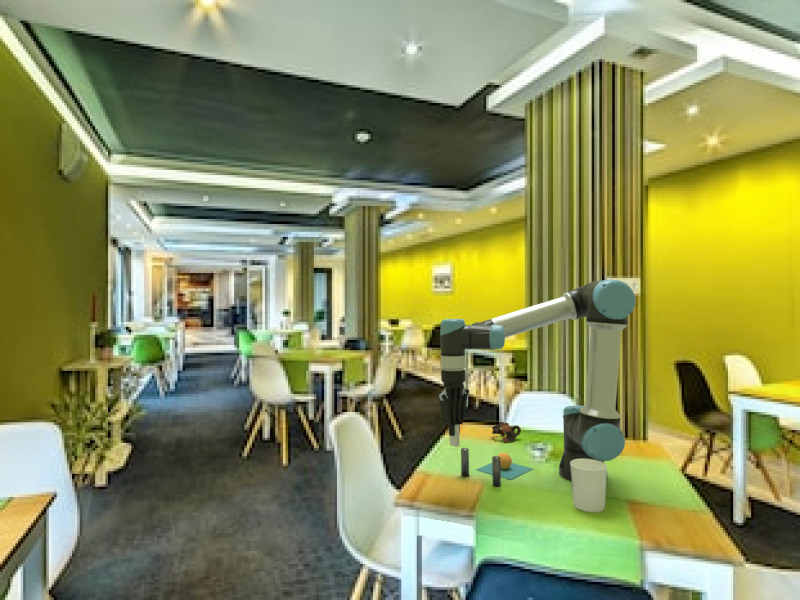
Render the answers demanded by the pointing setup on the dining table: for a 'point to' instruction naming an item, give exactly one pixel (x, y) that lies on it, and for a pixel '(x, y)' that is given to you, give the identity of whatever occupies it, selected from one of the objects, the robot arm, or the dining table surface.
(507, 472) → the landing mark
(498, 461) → the right post
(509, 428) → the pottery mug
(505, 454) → the ball
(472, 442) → the dining table surface
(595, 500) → the candle holder
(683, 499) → the dining table surface
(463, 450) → the left post
